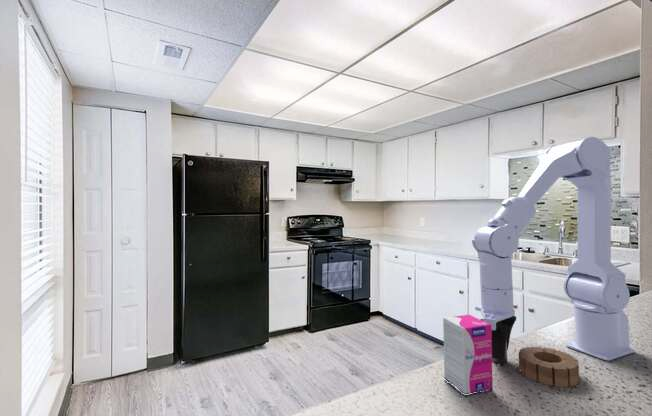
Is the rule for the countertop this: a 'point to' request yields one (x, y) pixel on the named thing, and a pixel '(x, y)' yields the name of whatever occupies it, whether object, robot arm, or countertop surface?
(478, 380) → the supplement box
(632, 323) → the countertop surface
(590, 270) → the robot arm
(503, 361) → the metal peg
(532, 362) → the walnut bead
